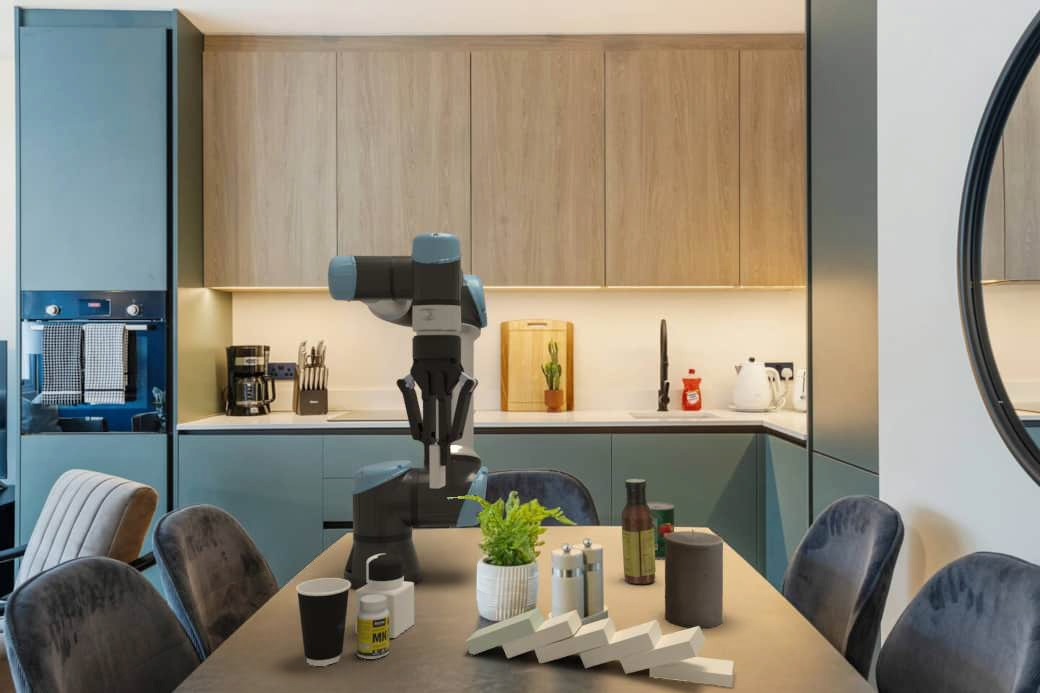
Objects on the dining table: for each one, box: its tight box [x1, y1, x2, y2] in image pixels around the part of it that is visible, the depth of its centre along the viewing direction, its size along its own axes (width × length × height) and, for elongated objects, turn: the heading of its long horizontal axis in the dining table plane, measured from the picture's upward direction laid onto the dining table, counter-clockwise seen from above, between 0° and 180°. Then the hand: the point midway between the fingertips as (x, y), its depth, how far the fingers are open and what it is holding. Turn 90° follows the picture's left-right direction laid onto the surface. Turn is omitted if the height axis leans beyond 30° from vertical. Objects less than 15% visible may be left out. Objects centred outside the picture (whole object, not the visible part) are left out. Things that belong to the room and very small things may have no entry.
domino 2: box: [534, 617, 617, 664], centre depth 113 cm, size 2×5×11 cm
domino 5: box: [649, 656, 735, 689], centre depth 108 cm, size 2×5×11 cm
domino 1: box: [502, 609, 583, 659], centre depth 114 cm, size 2×5×11 cm
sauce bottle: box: [621, 478, 657, 585], centre depth 152 cm, size 7×6×20 cm
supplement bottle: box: [356, 594, 390, 660], centre depth 116 cm, size 5×5×8 cm
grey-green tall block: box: [465, 607, 546, 656], centre depth 116 cm, size 2×5×11 cm
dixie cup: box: [295, 577, 351, 666], centre depth 114 cm, size 8×8×11 cm
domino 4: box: [619, 626, 707, 675], centre depth 107 cm, size 2×5×11 cm
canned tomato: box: [646, 501, 675, 560], centre depth 172 cm, size 8×8×11 cm
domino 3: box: [578, 619, 664, 669], centre depth 110 cm, size 2×5×11 cm
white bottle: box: [354, 553, 415, 639], centre depth 126 cm, size 7×7×12 cm
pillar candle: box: [664, 529, 724, 629], centre depth 131 cm, size 10×10×15 cm
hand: (437, 486), depth 119 cm, fingers closed
